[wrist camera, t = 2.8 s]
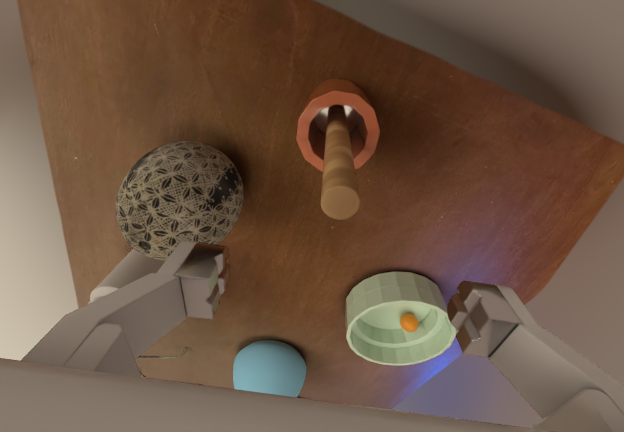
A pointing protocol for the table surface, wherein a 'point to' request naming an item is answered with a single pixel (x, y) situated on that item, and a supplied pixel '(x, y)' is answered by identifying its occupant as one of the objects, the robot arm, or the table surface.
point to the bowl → (397, 319)
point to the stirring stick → (339, 168)
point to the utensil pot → (358, 120)
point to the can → (126, 273)
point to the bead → (409, 322)
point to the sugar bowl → (269, 369)
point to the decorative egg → (178, 198)
